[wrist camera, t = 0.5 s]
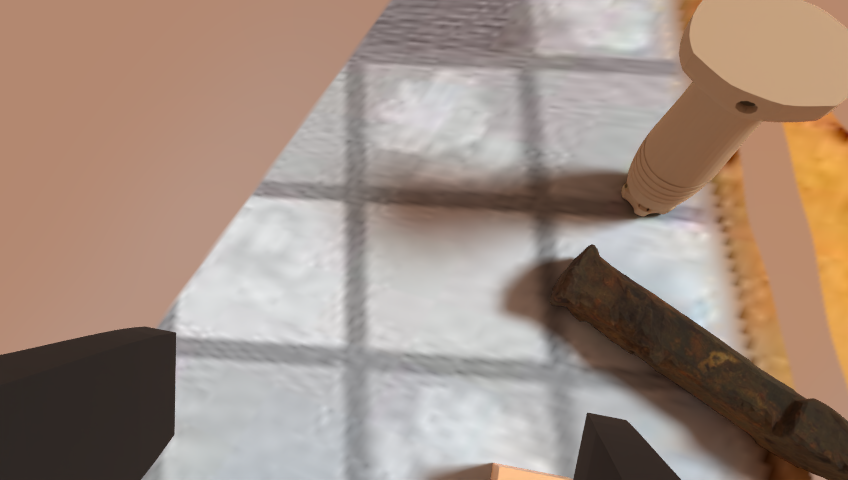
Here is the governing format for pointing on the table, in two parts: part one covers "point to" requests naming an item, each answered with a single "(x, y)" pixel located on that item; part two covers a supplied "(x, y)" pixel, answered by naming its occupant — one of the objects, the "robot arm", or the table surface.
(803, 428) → the brown log
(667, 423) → the table surface
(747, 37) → the handle
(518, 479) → the orange cube
